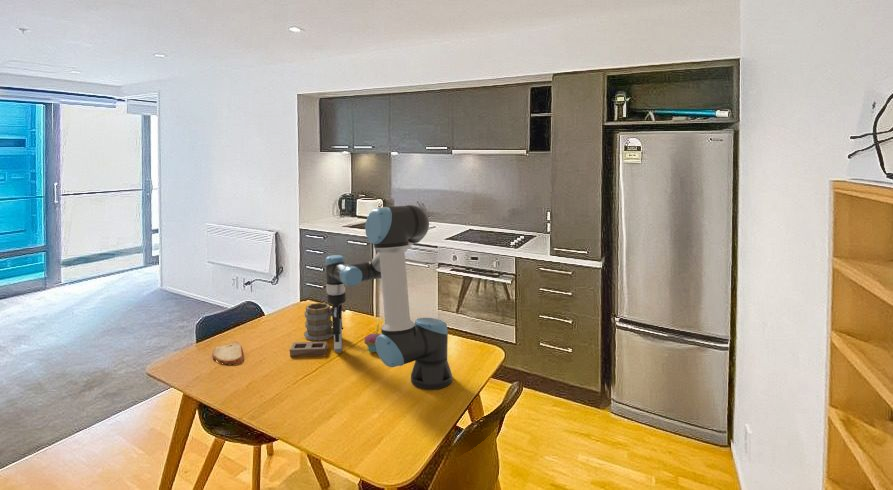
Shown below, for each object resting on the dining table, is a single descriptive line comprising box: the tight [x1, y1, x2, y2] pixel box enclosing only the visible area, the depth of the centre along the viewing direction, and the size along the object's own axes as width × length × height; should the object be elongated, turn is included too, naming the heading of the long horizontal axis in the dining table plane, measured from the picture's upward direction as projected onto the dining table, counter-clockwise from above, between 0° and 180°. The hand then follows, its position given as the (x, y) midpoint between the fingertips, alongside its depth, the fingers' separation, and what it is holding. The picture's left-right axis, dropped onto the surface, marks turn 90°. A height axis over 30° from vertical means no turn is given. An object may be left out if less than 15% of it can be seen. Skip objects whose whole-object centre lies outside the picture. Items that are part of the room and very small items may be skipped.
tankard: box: [303, 302, 347, 342], centre depth 225 cm, size 20×13×15 cm, turn 73°
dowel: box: [334, 319, 343, 354], centre depth 208 cm, size 3×3×14 cm
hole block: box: [289, 341, 329, 358], centre depth 208 cm, size 8×14×3 cm, turn 96°
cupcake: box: [363, 322, 381, 353], centre depth 209 cm, size 9×8×12 cm
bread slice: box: [211, 341, 245, 365], centre depth 205 cm, size 18×18×4 cm
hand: (338, 346), depth 209 cm, fingers closed on dowel, 3 cm apart
